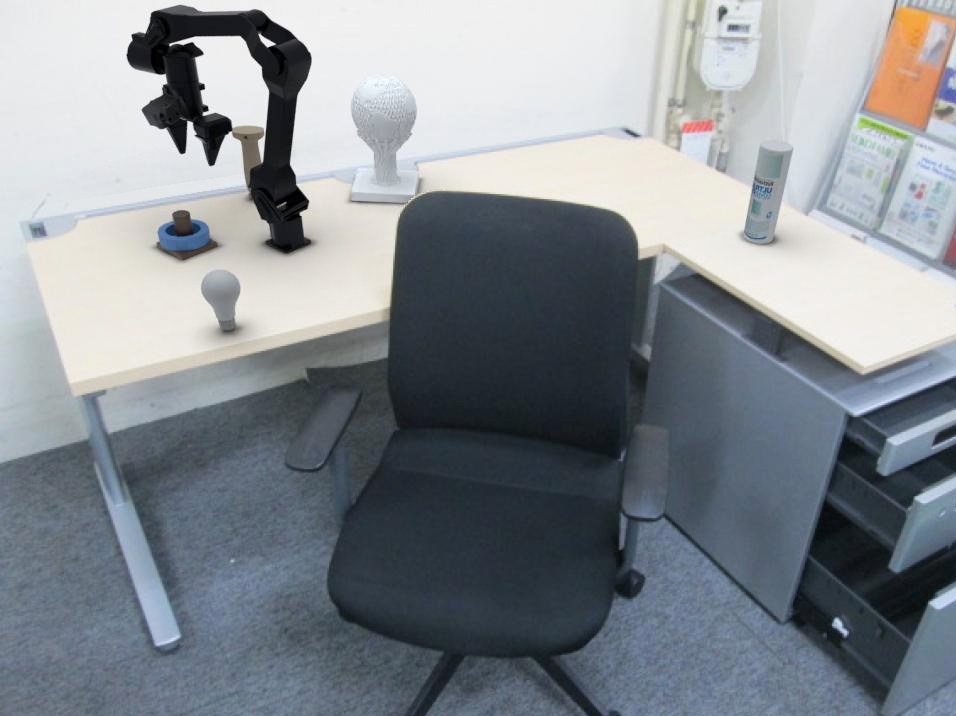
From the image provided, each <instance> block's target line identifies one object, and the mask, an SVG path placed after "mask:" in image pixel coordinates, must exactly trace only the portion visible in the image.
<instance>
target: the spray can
mask: <svg viewBox="0 0 956 716" xmlns="http://www.w3.org/2000/svg"><path fill="white" fill-rule="evenodd" d="M793 151H794V146H793V145H792V144H791V143H789V142H786V141H783V140H780V139H779V140H778V139H765V140H763V141H761V142H760V143H759V149H758V153H757V159H756V164H755V170H754V174H753V180H752V185H751V191H750V196H749V202H748V207H747V213H746V219H745V225H744V229H743V239H744V240H746V241H747V242H749V243H753V244H757V245H765V244H766V245H767V244H770V243H772V242H773V239H774V236H775V232H776V228H777V224H778V219H779V215H780V210H781V205H782V200H783V196H784V191H785V188H786V183H787V178H788V174H789V170H790V165H791V161H792V156H793Z"/></svg>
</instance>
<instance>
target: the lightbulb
mask: <svg viewBox="0 0 956 716" xmlns="http://www.w3.org/2000/svg"><path fill="white" fill-rule="evenodd" d="M241 289H242V288H241V283H240V281H239V279H238V277H237V276H236V275H235V274H234V273H232V272H231V271H229V270H226V269H214V270H212V271H210V272H208V273H206V275H205V276H204V277H203V278H202V280H201V284H200V291H201V294H202V297H203V298H204V299H205V301H206V302H207V303H208V304H209V306H211V308H212V309H213V312H214V314H215V318H216V319H217V322H218V325H219V328H220V330H222V331H226V332H229V331H232V330H233V329H235V327H236V318H235V317H236V306H237V302H238V300H239V298H240V295H241Z"/></svg>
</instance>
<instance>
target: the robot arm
mask: <svg viewBox="0 0 956 716" xmlns="http://www.w3.org/2000/svg"><path fill="white" fill-rule="evenodd" d="M130 36H131V39H132V40H131V41H130V43H129V44H128V46H127V50H126V60H127V63H128V65H129V66H130V67H131V68H132V69H134V70H136V71H140V72H144V73H150V74H154V75H158V76H164V75H165V80H166V83H164V84H162V87H161V91H162V92H161V93H162V94H161V95H160V96H158V97H155V98H154V99H151V100H150V101H149V102H148V103H147V104H145V105H144V106H143V107H142V108H141V113H142V114H143V116H144V117H145V119H146V121H147V123H148V124H149V126H151V127H152V126H153V127H155V128H157V129H158V130H165V129H166V131H167V133H168V134H169V136H170V138H171V140H172V141H173V144H174V146H175V148H176V149H177V151H178V153H179V155H184V154H186V152H187V144H188V143H187V141H188V122H189V123H192V128H193V129H192V130H193V131H194V133H195V134H194V135H193V137H195V138H196V139H198V140H199V141H200V142H201V144H202V147H203V151H204V155H205V159H206V162H207V165H208V167H214V166H215V165H216V162H217V159H218V156H219V153H220V150H221V147H222V145H223V142H224V140H225V138H226V136H227V135H229V134H230V133H232V131H233V128H234V126H233V122H232V119H231V118H229V117H228V116H226V115H223V114H220V113H218V112H213V113H209V114H206V115H204V113H207V112H209V111H210V109H209V105H207V104H205V103H204V101H203V96H202V91H205V90H206V84H205V83H203V82H200V78H199V77H200V76H199V72H198V71H199V70H198V67H197V60H196V58H200V57H202V56H204V55H205V53H204V51H203V50H202V49H201V48H200V47H198V46H197V45H196V44H195V42H193V41H191V42H187V43H183V44H182V43H179V42H181V41H185V40H188V39H192V38H196V37H197V38H198V37H199V38H200V37H202V38H203V37H204V38H205V37H240V38H241V39H243V41H244V42H245V45H246V46H247V49H248V52H249V55H250V57H251V59H253V60H254V61H255V62H256V63H257V64H258V65H259V66H260V67H261V76H262V77H261V78H262V80H263V82H264V85H266V88H267V90H268V100H267V111H266V112H267V113H266V122H265V131H264V143H263V144H264V145H263V156H262V157H263V158H262V161H261V162H262V163H261V164H259V165H257V166H255V167H253V168H251V170H250V184H249V185H248V188H251V197H252V199H251V200H252V201H253V203H254V205H255V208H256V210H257V213H258V215H259V217H260V219H261V220H262V221H265V222H266V224H268V227H269V235H270V238H268V239H266V240H265V241H264V242H265V243H264V244H265V245H268V246H270V247H272V248H273V249H276V250H278V251H280V252H282V253H285V254H288V253H290V252H293V251H295V250H298V249H300V248H302V247H305V246H308V245H309V244H311V243H312V240H311V238H308V237H305V234H304V233H305V231H304V225H303V224H304V223H303V216H302V215H301V213H302V212H305V211H307V210H308V209H309V205H310V200H309V198H308V197H307V196H306V195H305V193H304V192H303V191H302V190H301V189H300V187H299V186H298V185H297V176H296V173H295V170H294V169H293V167H292V165H291V159H292V148H293V141H294V131H295V124H296V123H295V122H296V113H297V104H298V96H299V93H300V92H301V90H302V88H303V87H304V85H305V83H306V82H307V80H308V77H309V74H310V71H311V67H312V63H313V59H312V53H311V52H310V51H309V49H308V47H307V45H305V43H304V42H302V41H301V40H300V39H298V37H297V36H295V34H294V33H293V32H292V31H290V30H289V29H288V28H286V27H284V26H283V25H280V24H279V23H277V22H275V21H273V20H272V19H271V18H270V17H269V16H268V15H267V14H266V13H265V12H264V11H263V10H261V9H257V8H253V9H250V10H226V11H225V10H223V11H221V10H219V11H203V10H202V11H201V10H198V9H197V8H196V7H193V6H190V5H189V6H188V5H184V4H178V5H177V4H176V5H173V6H169V7H165V8H161V9H156V10H153V11H151V13H150V17H149V23H148V26H147V29H146V31H145V32H142V31H138V32H133V33H131V35H130ZM260 36H261V37H263V38H264V39H266V40H268V41H270V42H271V43H273V45H269V46H267V45H266V44H265V43H264V42H263V41H262V39H261V37H260ZM170 44H171V45H170Z"/></svg>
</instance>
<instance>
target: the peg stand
mask: <svg viewBox="0 0 956 716" xmlns="http://www.w3.org/2000/svg"><path fill="white" fill-rule="evenodd" d="M171 217H172V221H173V222H174V227H175V232H176V235H175V236H176V237H184V236H189V235H193V234H194V232H193V227H192V222H191V219H192V216H191V212H190V211H189V210H186V209H178V210H175V211H173V212H172V213H171ZM155 245H156V248H158V249H159V250H161V251H163V252H165V253H168V254H169V255H172V256H173V257H175V258H177V259H179V260H181V261H184V260H186V259H189V258H191V257H194V256H196V255H199V254H201V253H204V252H206V251H209V250H212V249H214V248H217V247H218V242H217V241H216V240H214V239H212V238H210V241H209V242H208V243H207V244H206V245H205V246H203V247H200V248H198V249H194V250H189V251H172V250H167V249H165V248H163V247H162V246H161V245H160V242H159V241H157V242H156V244H155Z"/></svg>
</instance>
